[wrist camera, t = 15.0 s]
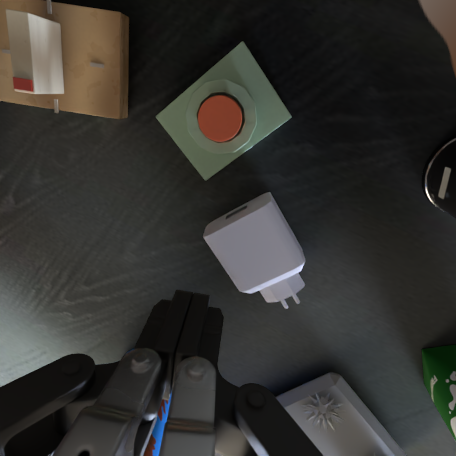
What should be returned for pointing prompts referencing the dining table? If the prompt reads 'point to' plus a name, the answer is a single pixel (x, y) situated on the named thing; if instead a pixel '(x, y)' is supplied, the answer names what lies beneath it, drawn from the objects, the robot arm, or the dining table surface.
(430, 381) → the milk carton
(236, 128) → the button
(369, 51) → the dining table surface
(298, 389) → the decorative tray
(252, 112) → the button box
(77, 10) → the panel
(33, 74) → the knob
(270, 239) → the charger
